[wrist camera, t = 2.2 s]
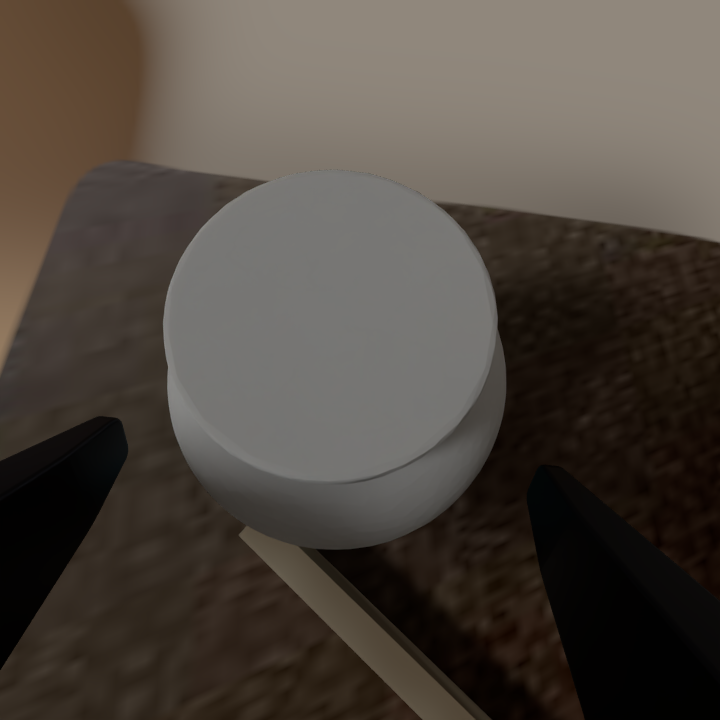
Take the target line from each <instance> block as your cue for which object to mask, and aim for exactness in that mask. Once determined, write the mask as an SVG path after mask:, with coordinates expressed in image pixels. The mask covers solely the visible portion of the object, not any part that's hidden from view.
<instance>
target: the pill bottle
mask: <svg viewBox="0 0 720 720" xmlns="http://www.w3.org/2000/svg"><path fill="white" fill-rule="evenodd" d="M497 326H498V315H497V307H496V299H495V293H494V290H493V286H492V283H491V279H490V276H489V273H488V271H487V269H486V267H485V264H484V262H483V260H482V258H481V256H480V254H479V252H478V250H477V248H476V247H475V245H474V244H473V243H472V241H471V240H470V238H469V237H468V235H467V234H466V232H465V231H464V230H463V229H462V228H461V227H460V226H459V225H458V224H457V223H456V222H455V220H454V219H453V218H452V217H451V216H449V215H448V214H447V213H446V212H445V211H444V210H443V209H442V208H440V207H439V206H438V205H436V204H435V203H434V202H432V201H431V200H430V199H428V198H427V197H425V196H423V195H422V194H421V193H419V192H417V191H415V190H412V189H411V188H408V187H406V186H404V185H402V184H400V183H397V182H395V181H393V180H390V179H387V178H383V177H380V176H377V175H373V174H370V173H361V172H353V171H345V170H319V171H310V172H304V173H296V174H292V175H288V176H284V177H281V178H278V179H275V180H272V181H270V182H267V183H265V184H262V185H259V186H257V187H255V188H253V189H251V190H249V191H247V192H245V193H243V194H242V195H241V196H239V197H238V198H236V199H234V200H233V201H231V202H230V203H228V204H226V205H225V206H224V207H223V208H222V209H221V210H220V211H219V212H218V213H216V214H215V215H214V216H213V217H212V218H211V219H210V220H209V221H208V222H207V223H206V224H205V225H204V226H203V227H202V228H201V229H200V230H199V232H198V233H197V234H196V236H195V237H194V239H193V240H192V241H191V243H190V244H189V246H188V247H187V249H186V251H185V252H184V254H183V255H182V257H181V259H180V261H179V263H178V265H177V267H176V270H175V272H174V275H173V277H172V280H171V283H170V286H169V289H168V293H167V298H166V303H165V311H164V320H163V329H164V345H165V353H166V359H167V363H168V386H167V389H168V402H169V409H170V415H171V421H172V425H173V428H174V432H175V435H176V438H177V441H178V443H179V446H180V448H181V451H182V453H183V455H184V457H185V459H186V461H187V463H188V465H189V467H190V468H191V470H192V472H193V473H194V475H195V476H196V478H197V479H198V480H199V482H200V483H201V484H202V486H203V487H204V488H205V489H206V491H207V492H208V493H209V494H210V495H211V496H212V497H213V498H214V499H215V500H216V501H217V502H218V503H219V504H220V505H221V506H222V507H223V508H224V509H225V510H226V511H227V512H229V513H230V514H231V515H233V516H234V517H235V518H237V519H238V520H240V521H241V522H242V523H244V524H246V525H247V526H249V527H250V528H252V529H254V530H256V531H258V532H260V533H262V534H264V535H266V536H268V537H271V538H274V539H277V540H279V541H282V542H285V543H289V544H293V545H296V546H301V547H308V548H314V549H332V550H339V549H354V548H361V547H369V546H374V545H378V544H381V543H385V542H389V541H392V540H394V539H397V538H399V537H401V536H404V535H406V534H408V533H410V532H412V531H414V530H416V529H418V528H420V527H422V526H424V525H425V524H427V523H429V522H430V521H432V520H434V519H435V518H436V517H437V516H439V515H440V514H441V513H443V512H444V511H445V510H446V509H448V508H449V507H450V506H451V505H452V504H453V503H454V502H455V501H456V500H457V499H458V498H459V497H460V496H461V495H462V494H463V493H464V492H465V490H466V489H467V488H468V487H469V486H470V484H471V483H472V482H473V480H474V479H475V478H476V476H477V475H478V473H479V472H480V471H481V469H482V467H483V465H484V464H485V462H486V460H487V458H488V456H489V454H490V452H491V450H492V447H493V445H494V442H495V440H496V437H497V435H498V432H499V428H500V425H501V421H502V418H503V412H504V406H505V398H506V365H505V358H504V352H503V347H502V343H501V339H500V335H499V332H498V329H497Z"/></svg>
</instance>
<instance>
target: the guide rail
mask: <svg viewBox="0 0 720 720" xmlns="http://www.w3.org/2000/svg"><path fill="white" fill-rule="evenodd" d="M239 536H240V537H241V538H242V539H243V540H244V541H245V542H246V543H247V544H248V545H249V546H250V547H251V548H252V549H253V550H254V551H255V552H256V553H257V554H258V555H259V556H260V557H261V558H262V559H263V560H264V561H265V562H266V563H267V564H268V565H269V566H270V567H271V568H272V569H273V570H274V571H275V572H276V573H277V574H278V575H279V576H280V577H281V578H282V579H283V580H284V581H285V582H286V583H287V584H288V585H289V586H290V587H291V588H292V589H293V590H294V591H295V592H296V593H297V594H298V595H299V596H300V597H301V598H302V599H303V600H304V601H305V602H306V603H307V604H308V605H309V606H310V607H311V608H312V609H313V610H314V611H315V612H316V613H317V614H318V615H319V616H320V617H321V618H322V619H323V620H324V621H325V622H326V623H327V624H328V625H329V626H330V627H331V628H332V629H333V630H334V631H335V632H336V633H337V634H338V635H339V636H340V637H341V638H342V639H343V640H344V641H345V642H346V643H347V644H348V645H349V646H350V647H351V648H352V649H353V650H354V651H355V652H356V653H357V654H358V655H359V656H360V657H361V658H362V659H363V660H364V661H365V662H366V663H367V664H368V665H369V666H370V667H371V668H372V669H373V670H374V671H375V672H376V673H377V674H378V675H379V676H380V677H381V678H382V679H383V680H384V681H385V682H386V683H387V684H388V685H389V686H390V687H391V688H392V689H393V690H394V691H395V692H396V693H397V694H398V695H399V696H400V697H401V698H402V699H403V700H404V701H405V702H406V703H407V704H408V705H409V706H410V707H411V708H412V709H413V710H414V711H415V712H416V713H417V714H418V715H419V716H420V717H421V718H422V719H423V720H492V719H491V718H490V717H489V716H488V715H487V714H486V713H484V712H483V711H482V710H481V709H480V708H479V707H478V706H477V705H476V704H475V703H474V702H473V701H472V700H471V699H470V698H469V697H468V696H467V695H466V694H465V693H464V692H463V691H462V690H461V689H460V688H459V687H458V686H457V685H456V684H455V683H453V682H452V681H451V680H450V679H449V678H448V677H447V676H446V675H445V674H444V673H443V672H442V671H441V670H440V669H439V668H438V667H437V666H436V665H435V664H434V663H433V662H432V661H431V660H430V659H429V658H428V657H427V656H426V655H425V654H424V653H422V652H421V651H420V650H419V649H418V648H417V647H416V646H415V645H414V644H413V643H412V642H411V641H410V640H409V639H408V638H407V637H406V636H405V635H404V634H403V633H402V632H401V631H400V630H399V629H398V628H397V627H396V626H395V625H394V624H393V623H391V622H390V621H389V620H388V619H387V618H386V617H385V616H384V615H383V614H382V613H381V612H380V611H379V610H378V609H377V608H376V607H375V606H374V605H373V604H372V603H371V602H370V601H369V600H368V599H367V598H366V597H365V596H364V595H363V594H362V593H360V592H359V591H358V590H357V589H356V588H355V587H354V586H353V585H352V584H351V583H350V582H349V581H348V580H347V579H346V578H345V577H344V576H343V575H342V574H341V573H340V572H339V571H338V570H337V569H336V568H335V567H334V566H333V565H332V564H331V563H330V562H328V561H327V560H326V559H325V558H324V557H323V556H322V555H321V554H320V553H319V552H318V551H317V550H316V549H314V548H308V547H301V546H296V545H293V544H289V543H285V542H282V541H279V540H277V539H274V538H271V537H268V536H266V535H264V534H262V533H260V532H258V531H256V530H254V529H252V528H250V527H249V526H246V527H245V529H244V530H243V531H242V532H241V533H240V534H239Z"/></svg>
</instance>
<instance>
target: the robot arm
mask: <svg viewBox="0 0 720 720" xmlns="http://www.w3.org/2000/svg"><path fill="white" fill-rule="evenodd" d="M127 454H128V444H127V440H126V436H125V433H124V429H123V425H122V422H121V421H120V420H119V419H118V418H113V417H104V416H99V417H95V418H93V419H91V420H89V421H86V422H84V423H82V424H80V425H78V426H76V427H73V428H71V429H69V430H67V431H65V432H62V433H60V434H58V435H56V436H54V437H52V438H49V439H47V440H45V441H43V442H41V443H38V444H36V445H34V446H32V447H30V448H28V449H25V450H23V451H21V452H19V453H17V454H15V455H12V456H10V457H8V458H6V459H4V460H1V461H0V670H1V668H2V667H3V665H4V664H5V662H6V660H7V659H8V657H9V656H10V654H11V653H12V651H13V649H14V648H15V646H16V645H17V643H18V642H19V640H20V638H21V637H22V635H23V634H24V632H25V630H26V629H27V627H28V626H29V624H30V623H31V621H32V619H33V618H34V616H35V615H36V613H37V612H38V610H39V608H40V607H41V605H42V604H43V602H44V601H45V599H46V597H47V596H48V594H49V593H50V591H51V590H52V588H53V586H54V585H55V583H56V582H57V580H58V579H59V577H60V575H61V574H62V572H63V571H64V569H65V567H66V566H67V564H68V563H69V561H70V560H71V558H72V556H73V555H74V553H75V552H76V550H77V549H78V547H79V545H80V544H81V542H82V541H83V539H84V538H85V536H86V534H87V533H88V531H89V529H90V528H91V526H92V524H93V523H94V521H95V519H96V517H97V515H98V514H99V512H100V510H101V508H102V506H103V504H104V502H105V500H106V498H107V496H108V494H109V492H110V490H111V488H112V486H113V484H114V482H115V480H116V478H117V476H118V474H119V472H120V470H121V468H122V466H123V464H124V462H125V460H126V458H127ZM527 504H528V510H529V515H530V520H531V525H532V531H533V536H534V541H535V546H536V552H537V557H538V562H539V566H540V571H541V575H542V578H543V582H544V585H545V589H546V592H547V595H548V599H549V602H550V605H551V609H552V612H553V615H554V619H555V622H556V625H557V628H558V632H559V635H560V638H561V642H562V645H563V648H564V652H565V655H566V658H567V662H568V665H569V668H570V671H571V675H572V678H573V681H574V685H575V688H576V691H577V695H578V698H579V701H580V705H581V708H582V711H583V714H584V718H585V720H720V601H719V600H718V599H717V598H716V597H715V596H714V595H712V594H711V593H710V592H709V591H708V590H706V589H705V588H704V587H703V586H702V585H701V584H699V583H698V582H697V581H696V580H695V579H693V578H692V577H691V576H690V575H689V574H687V573H686V572H685V571H684V570H683V569H682V568H680V567H679V566H678V565H677V564H676V563H674V562H673V561H672V560H671V559H670V558H669V557H667V556H666V555H665V554H664V553H663V552H661V551H660V550H659V549H658V548H657V547H655V546H654V545H653V544H652V543H651V542H650V541H648V540H647V539H646V538H645V537H644V536H642V535H641V534H640V533H639V532H638V531H637V530H635V529H634V528H633V527H632V526H631V525H629V524H628V523H627V522H626V521H625V520H624V519H622V518H621V517H620V516H619V515H618V514H616V513H615V512H614V511H613V510H612V509H610V508H609V507H608V506H607V505H606V504H605V503H603V502H602V501H601V500H600V499H599V498H597V497H596V496H595V495H594V494H593V493H592V492H590V491H589V490H588V489H587V488H586V487H584V486H583V485H582V484H581V483H580V482H578V481H577V480H576V479H575V478H574V477H573V476H571V475H570V474H569V473H568V472H567V471H565V470H564V469H563V468H561V467H559V466H551V465H541V466H539V467H538V469H537V471H536V473H535V475H534V478H533V480H532V482H531V484H530V487H529V489H528V492H527Z"/></svg>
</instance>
